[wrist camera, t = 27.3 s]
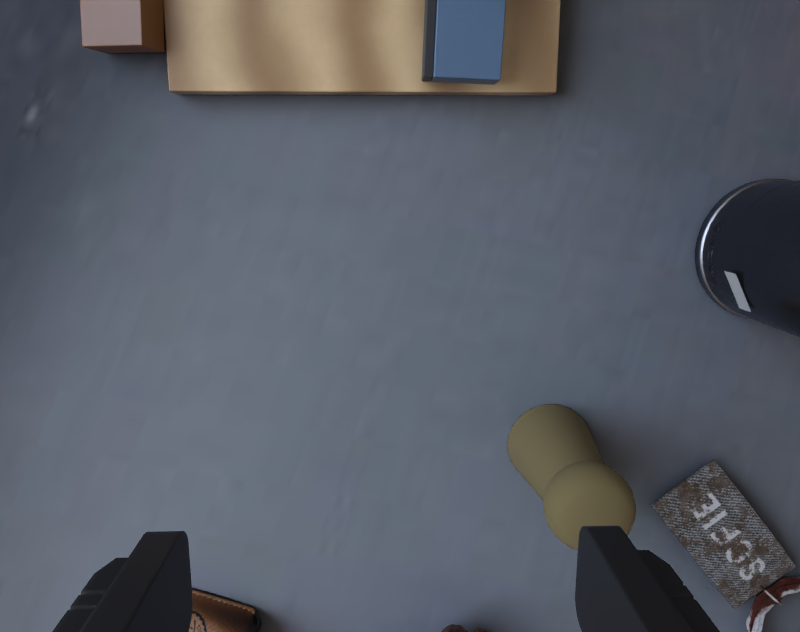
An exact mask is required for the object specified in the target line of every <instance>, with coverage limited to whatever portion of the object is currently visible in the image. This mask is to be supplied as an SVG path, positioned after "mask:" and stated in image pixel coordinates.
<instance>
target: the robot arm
mask: <svg viewBox="0 0 800 632" xmlns="http://www.w3.org/2000/svg"><path fill="white" fill-rule="evenodd" d="M695 264H696V270H697V274H698V277H699V280H700V282H701V284H702V286H703V288H704V290H705V291H706V293H707V294H708V295H709V297H710V298H711V299H712V300H713V301H714V302H715V303H716V304H718V305H719V306H720V307H722V308H724V309H725V310H727V311H729V312H731V313H734V314H737V315H739V316H742V317H745V318H750V319H754V320H757V321H759V322H761V323H764V324H767V325H769V326H772V327H774V328H777V329H780V330H782V331H785V332H788V333H790V334H793V335H796V336H798V337H800V181H792V180H785V179H765V180H758V181H754V182H750V183H748V184H745V185H743V186H740V187H738V188H736V189H735V190H733V191H731V192H730V193H729V194H727V195H726V196H725V197H723V198H722V199H721V200H720V201H719V202H718V203H717V204H716V205H715V206H714V207H713V209H712V210H711V211H710V213H709V214H708V216H707V217H706V219H705V221H704V222H703V225H702V227H701V229H700V232H699V235H698V238H697V242H696V249H695ZM575 602H576V611H577V617H578V621H579V625H580V628H581V630H582V632H720V631H719V630H718V629H717V627H716V626H715V625H714V623H713V622H712V621H711V619H710V618H709V617H708V615H707V614H706V613H705V611H704V610H703V609H702V607H701V606H700V605H699V603H698V602H697V601H696V600H694V599H693V595H692V594H691V593H690V591H689V590H688V589H687V587H686V586H683V582H682V581H681V579H680V578H679V577H678V575H677V574H676V573H675V571H674V570H673V569H672V567H671V566H670V565H669V564H668V563H666V562H665V561H663V560H662V559H660V558H659V557H658V556H656V555H655V554H653V553H652V552H650V551H649V550H637V549H636V548H635V546H634V545H633V544H632V542H631V541H630V539H629V538H628V536H627V535H626V533H625V532H624V531H623V529H622V528H621V527H620V526H582V527H581V529H580V533H579V542H578V558H577V574H576V591H575ZM192 607H193V600H192V586H191V572H190V558H189V545H188V538H187V535H186V533H185V532H184V531H170V532H146V533H145V534H144V535H143V537H142V538H141V540H140V541H139V543H138V544H137V546H136V547H135V549H134V550H133V552H132V553H131V555H130V556H129V558H116V559H114V560H113V561H111V562H110V563H109V564H107V565H106V566H104V567H103V568H102V569H100V570H99V571H97V572H96V573H95V574H94V575H93V576H92V578H91V579H90V581H89V582H88V583H87V585H86V586H85V587H84V589H83V590H82V592H81V595H79V596H78V597H77V598H76V600H75V601H74V603H73V604H72V605H71V609H70V610H68V611H67V612H66V614H65V615H64V616H63V618H62V619H61V620H60V622H59V623H58V625H57V626H56V627H55V629H54V630H53V632H189V628H190V624H191V618H192Z"/></svg>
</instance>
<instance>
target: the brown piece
mask: <svg viewBox="0 0 800 632" xmlns="http://www.w3.org/2000/svg"><path fill="white" fill-rule="evenodd" d="M442 632H468V631H467V630H465V629H464V628H463V627H462V626H460V625H450V626H448V627H446V628H444V629H443V631H442ZM475 632H486V631H484V630H482V629H480V628H476V630H475Z"/></svg>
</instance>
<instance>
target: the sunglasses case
mask: <svg viewBox="0 0 800 632" xmlns="http://www.w3.org/2000/svg"><path fill="white" fill-rule="evenodd" d="M192 600H193V607H192V618H191V624H190V628H189V632H260V630H261V619H260V617H259V615H258V613H257V611H256V610H255V609H254V608H253V607H251V606H248V605H245V604H242V603H239V602H237V601H234V600H231V599H228V598H225V597H222V596H219V595H215V594H212V593H208V592H204V591H200V590H196V589H192Z"/></svg>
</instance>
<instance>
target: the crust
mask: <svg viewBox="0 0 800 632" xmlns="http://www.w3.org/2000/svg"><path fill="white" fill-rule="evenodd" d="M80 11H81V30H82V46H83V47H85V48H89V49H92V50H96V51H100V52H104V53H139V52H164V18H163V0H80Z"/></svg>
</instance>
